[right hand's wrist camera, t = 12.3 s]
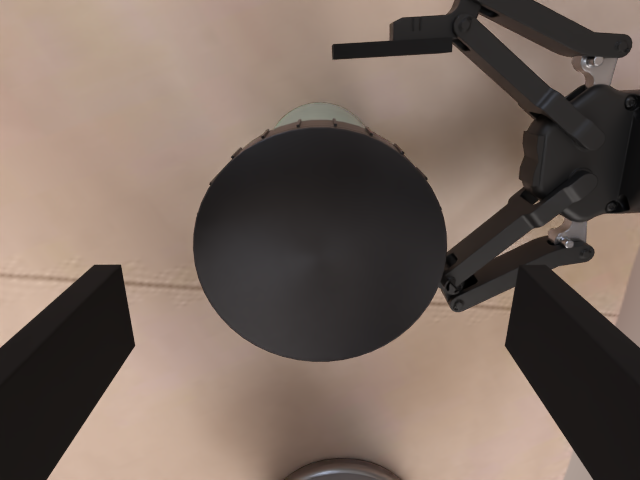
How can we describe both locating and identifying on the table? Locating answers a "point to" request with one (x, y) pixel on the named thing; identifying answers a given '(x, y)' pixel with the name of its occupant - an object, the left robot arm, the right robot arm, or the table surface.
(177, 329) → the table surface
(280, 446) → the table surface
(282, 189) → the lid
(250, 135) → the table surface
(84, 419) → the right robot arm
